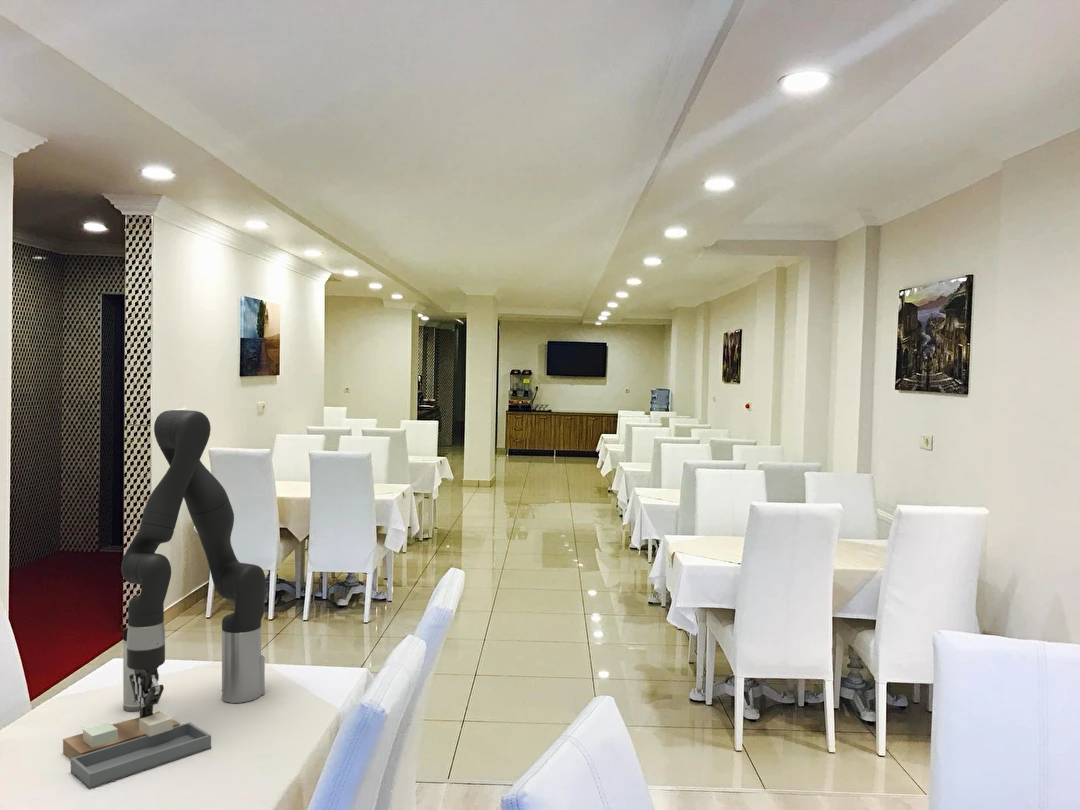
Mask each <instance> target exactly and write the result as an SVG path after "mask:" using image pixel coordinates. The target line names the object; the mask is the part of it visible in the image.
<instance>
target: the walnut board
mask: <svg viewBox="0 0 1080 810" xmlns="http://www.w3.org/2000/svg"><path fill="white" fill-rule="evenodd" d="M158 713H161V711H156V712H153V715H155V714H158ZM139 719H140V716H139V717H135V718H131V719H127V720H124V721H122V722H117V723H114V724H112V725H113V726H115V727H116V728H117V729H118V740H117V741H113V742H110V743H107V744H104V745H100V746H97V747H94V748H92V747H90V746H89V745H88V744H87V743H85V742H84V741H83V732H82V733H79V734H77V735H73V736H68V737H65V738H63V739H62V753H63V755H64V756H65V757H67V758H68V759H69V760H71V758H74V757H77V756H80V755H84V754H87V753H90V752H94V751H97V750H100V749H103V748H107V747H110V746H113V745H117V744H120V743H123V742H126V741H130V740H133V739H136V738H140V737H143V736H146V734H144V733H143V732H141V731H139ZM179 725H180V723H179V722H178V721H177V720H175V719H173V727H176V726H179Z"/></svg>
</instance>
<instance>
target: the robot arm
mask: <svg viewBox="0 0 1080 810" xmlns="http://www.w3.org/2000/svg"><path fill="white" fill-rule="evenodd" d="M153 424H154V425H153V433H154V437H155V440H156V442H157V445H158V447H159V449H160V450H161V452H162V455H163V456H164V458H165V459H166V461H167V464H168V465H169V468H168V469H167V470H166V473H165V474H164V475H163V477H162V478H161V480H160V481H159V483H158V484H157V485H156V486H155V488H154V489H153V491H152V492H151V494H150V496H149V497H148V499H147V502H146V504H145V507H144V511H143V513H142V517H141V521H140V524H139V529H138V531H137V533H136V534H135V535H134V538H133V539H132V541H131V543H130V545H129V546H128V548H127V550H126V552H125V553H124V555H123V558H122V561H121V567H120V568H121V569H120V571H121V576H122V577H123V579H124V581H126V582H128V583H129V584H134V585H141V589H140V593H139V595H136V596H133V597H132V598H131V599H130V600H129V602H128V609H127V611H128V613H127V616H128V618H127V624H128V625H127V628H128V632H127V666H128V668H130V669H133V670H134V674H132V675H130V676H129V678H130V682H131V686H132V690H133V693H134V697H135V700H138V705H140V711H139V717H140V719H141V718H145V717H148V716H151V715H153V713H154V712H153V711H154V705H157V704H158V703H159V701H160V699H161V696H162V694H163V691H164V690H165V689H164V684H159V681H160V675H159V672H158V669H159V667H160V666H162V665H163V664H164V663H165V662H166V627H165V622H164V621H165V610H164V609H165V608H164V606H165V605H164V603H165V600H166V597H167V594H168V591H169V590H168V589H169V585H170V582H171V577H172V566H171V563H170V561H169V558H167V557H166V556H165V555H164V554H162V553H157V552H156V551H157V549H158V548H159V546H160V545H161V544H164V543H169V542H170V541H171V540H172V538H173V535H174V532H175V529H176V525H177V522H178V518H179V513H180V510H181V506H182V503H183V500H184V501H185V505H186V507H187V512H188V514H189V516H190V518H191V520H192V523H193V525H194V527H195V530H196V532H197V535H198V537H199V540H200V542H201V545H202V549H203V552H204V554H205V557H206V559H207V564H208V567H209V572H210V575H211V579H212V582H213V587H214V589H215V591H216V592H217V594H218V595H219V596H220V597H221V598H222V599H226V600H230V601H234V602H235V605H234V612H232V613H229V614H227V615H225V616H224V617H223V618H222V620H221V699H222V701H223V702H226V703H230V704H239V703H247V702H250V701H254V700H256V699H258V698H260V697H261V696H264V695H265V694H266V692H265V691H266V690H265V689H266V688H265V687H266V685H265V684H266V683H265V681H266V680H265V677H266V674H265V671H266V667H265V665H266V664H265V663H266V661H265V659H266V657H265V656H264V655H262V621H263V620H262V619H263V616H264V615H265V614H264V613H265V608H266V606H265V605H266V589H267V582H266V581H267V580H266V579H267V578H266V576H265V575H266V574H265V572H264V569H263V568H262V567H261V566H259V565H258V564H254V563H253V564H252V563H246V562H245V563H244V562H240V561H239V559H238V557H236V555H235V552H234V549H233V546H232V542H231V537H232V532H233V527H234V522H235V513H234V510H233V506H232V505H231V504H232V503H231V502H230V499H229V496H228V494H227V491H226V489H225V487H224V486H223V485H222V484H221V482H220V481H219V480H218V479H217V478H216V477H215V475H213V474H212V473H211V471H210V470H209V469H208V468H207V467H206V466H205V465H204V464H203V462H202V461H201V458H202V456H203V454H204V451H205V449H206V447H207V445H208V442H209V439H210V436H211V429H212V427H211V422H210V420H209V418H208V417H207V415H206V414H205V413H203V412H201V411H199V410H187V409H178V410H177V409H172V410H171V409H170V410H169V409H168V410H164V411H162V412H161V413H160V414H159V415H158V416H157V417H156V419H155V421H154V423H153Z"/></svg>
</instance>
